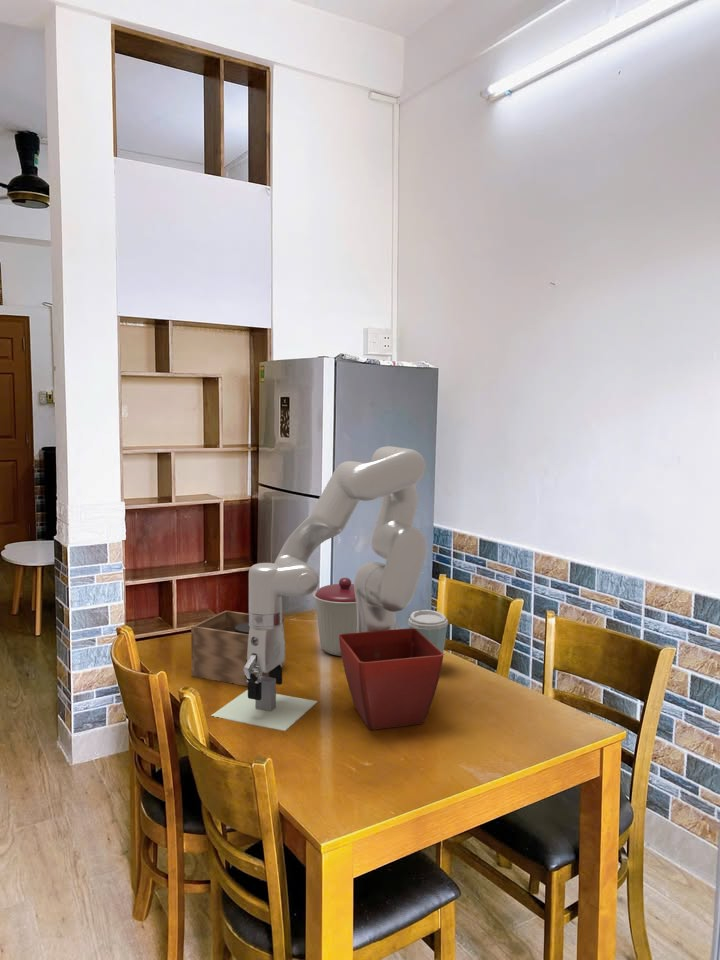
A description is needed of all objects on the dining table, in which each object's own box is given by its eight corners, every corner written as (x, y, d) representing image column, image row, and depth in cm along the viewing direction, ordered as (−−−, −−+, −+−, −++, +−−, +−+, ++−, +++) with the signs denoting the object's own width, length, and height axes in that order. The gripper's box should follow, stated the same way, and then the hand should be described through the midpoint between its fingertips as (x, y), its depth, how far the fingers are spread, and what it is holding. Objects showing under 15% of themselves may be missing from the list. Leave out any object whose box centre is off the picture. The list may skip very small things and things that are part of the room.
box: (283, 665, 193) (283, 618, 192) (253, 687, 178) (253, 636, 177) (225, 656, 200) (225, 610, 198) (191, 676, 185) (191, 626, 184)
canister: (379, 642, 214) (380, 572, 211) (371, 663, 196) (372, 587, 194) (319, 638, 216) (320, 569, 214) (306, 659, 198) (306, 584, 196)
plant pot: (358, 739, 152) (359, 661, 150) (336, 703, 170) (337, 633, 168) (443, 729, 157) (445, 654, 155) (413, 695, 175) (415, 627, 173)
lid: (317, 704, 170) (317, 672, 169) (284, 734, 155) (285, 699, 154) (248, 691, 177) (248, 661, 176) (210, 718, 162) (210, 685, 161)
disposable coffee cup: (455, 673, 189) (456, 617, 188) (419, 679, 185) (420, 622, 183) (433, 660, 199) (435, 607, 197) (399, 666, 194) (400, 611, 193)
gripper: (261, 631, 154) (261, 708, 156) (297, 610, 170) (297, 680, 172) (230, 626, 157) (231, 702, 159) (269, 606, 173) (269, 675, 175)
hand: (265, 691), depth 165 cm, fingers open, 9 cm apart
